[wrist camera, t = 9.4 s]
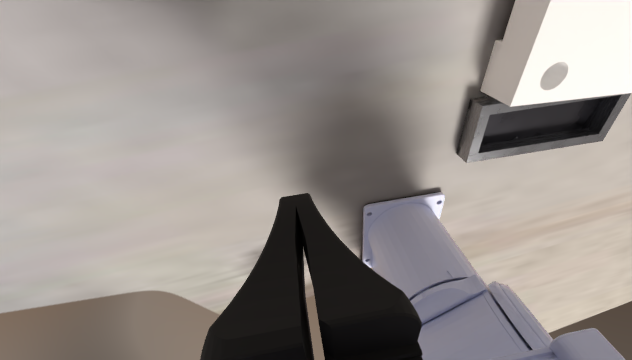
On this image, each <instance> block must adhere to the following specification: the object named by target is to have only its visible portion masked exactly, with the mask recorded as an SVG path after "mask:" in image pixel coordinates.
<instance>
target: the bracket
mask: <svg viewBox="0 0 632 360" xmlns="http://www.w3.org/2000/svg"><path fill="white" fill-rule="evenodd" d="M480 91H481V92H483V93H485V94H487V95H489V96H491V97H493V98H495V99H497V100H498V101H500V102H502V103H504V104H506V105H508V106H510V107H512V106H521V105H530V104H539V103H547V102H556V101H565V100H574V99H583V98H592V97H600V96H609V95H618V94H627V93H632V0H515V3H514V6H513V9H512V13H511V16H510V19H509V22H508V25H507V28H506V32H505V35H504V38H503V39H502V40H495V44H494V47H493V50H492V54H491V57H490V60H489V63H488V67H487V70H486V73H485V77H484V80H483V83H482V87H481V90H480Z"/></svg>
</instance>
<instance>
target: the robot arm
mask: <svg viewBox="0 0 632 360" xmlns="http://www.w3.org/2000/svg"><path fill="white" fill-rule="evenodd" d="M444 199H445V195H444V194H443V193H442V192H438V193H432V194H426V195H421V196H415V197H409V198H403V199H397V200H391V201H385V202H379V203H373V204H368V205H366V206H365V207H364V208H363V255H362V261H361V260H360V259H359V258H358V257H357V256H356V255H355V254H354V253H353V252H352V251H351V250H349V249H348V248H347V246H346V245H345V244H344V243H343V242H342V241H341V240H340V239H339V238H338V237H337V236H336V234H335V233H334V232H333V231H332V230H331V228H330V227H329V226H328V224H327V223H326V222H325V220H324V219H323V217H322V216H321V214H320V213H319V211H318V210H317V208H316V206H315V204H314V203H313V201H312V198H311V196H310V194H308V193H305V194H299V195H293V196H287V197H282V198H281V199H280V201H279V207H278V211H277V215H276V218H275V221H274V224H273V227H272V230H271V233H270V235H269V238H268V240H267V242H266V245H265V247H264V249H263V251H262V253H261V255H260V257H259V259H258V261H257V263H256V265H255V266H254V268H253V270H252V272H251V273H250V275H249V277H248V278H247V280H246V281H245V283H244V284H243V286H242V287H241V289H240V290H239V291H238V293H237V294H236V296H235V297H234V298H233V300H232V301H231V303H230V304H229V305H228V306H227V308H226V309H225V310H224V311H223V312H222V314H221V315H220V316H219V317H218V319H217V320H216V321H215V322H214V323H213V324H212V326H211V327H210V328H209V331H208V334H207V336H206V339H205V343H204V346H203V350H202V354H201V359H200V360H314V356H313V348H312V341H311V334H310V327H309V319H308V312H307V304H306V297H305V281H304V258H303V248H304V252H305V256H306V260H307V264H308V268H309V272H310V276H311V280H312V284H313V288H314V294H315V300H316V307H317V313H318V319H319V326H320V332H321V338H322V344H323V350H324V356H325V360H625V359H624V358H623V357H622V355H621V354H620V353H619V352H618V351H617V350H616V349H615V348H614V347H613V346H612V345H611V344H610V343H609V342H608V341H607V340H606V338H604V336H602V334H601V333H600V332H599V331H598V330H597V329H595V328H590V329H585V330H580V331H575V332H571V333H566V334H563V335H560V336H558V337H557V338H555V339H554V340H553V339H552V338H551V336H550V335H549V334H548V333H547V331H546V330H545V329H544V328H543V326H542V325H541V324H540V323H539V321H538V320H537V319H536V318H535V316H534V315H533V314H532V313H531V312H530V310H529V309H528V308H527V307H526V306H525V304H524V303H523V302H522V301H521V300H520V298H519V297H518V296H517V295H516V294H515V293H514V291H513V290H512V289H511V288H510V287H509V286H508V285H504V284H499V283H498V282H492V283H490V284H489V285H487V284H486V283H485V282H484V281H483V280H482V279H481V277H480V276H479V275H478V273H477V272H476V270H475V269H474V268H473V266H472V265H471V263H470V262H469V261H468V259H467V258H466V256H465V255H464V254H463V252H462V251H461V250H460V248H459V247H458V245H457V244H456V243H455V241H454V240H453V238H452V237H451V236H450V234H449V233H448V231H447V230H446V229H445V227H444V226H443V225H442V223H441V222H440V220H439V219H440V215H441V211H442V207H443V203H444ZM369 212H370V213H369ZM367 213H369V214H367ZM371 267H372V268H373V270H374V271H373V270H372V269H371Z"/></svg>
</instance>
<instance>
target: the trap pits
mask: <svg viewBox="0 0 632 360" xmlns="http://www.w3.org/2000/svg"><path fill="white" fill-rule="evenodd" d="M630 94H631V93H627V94H618V95H609V96H600V97H592V98H583V99H574V100H565V101H556V102H547V103H539V104H530V105H521V106H512V107H510V106H508V105H506V104H504V103H502V102H500V101H498V100H497V99H495V98H493V97H491V96H488V97H481V98H475V99H470V103H469V107H468V111H467V115H466V119H465V123H464V127H463V131H462V135H461V139H460V143H459V147H458V151H457V155H458V156H459V157H461V158H462V159H463V160H464V161H465V162H466V163H469V162H476V161H482V160H488V159H494V158H500V157H506V156H513V155H519V154H525V153H531V152H537V151H543V150H549V149H556V148H562V147H568V146H574V145H580V144H586V143H592V142H599V141H603V139H604V138H605V136H606V134H607V133H608V131H609V129H610V128H611V126H612V124H613V123H614V121H615V119H616V118H617V116H618V114H619V113H620V111H621V109H622V108H623V106H624V104H625V103H626V101H627V99H628V98H629V96H630Z"/></svg>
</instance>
